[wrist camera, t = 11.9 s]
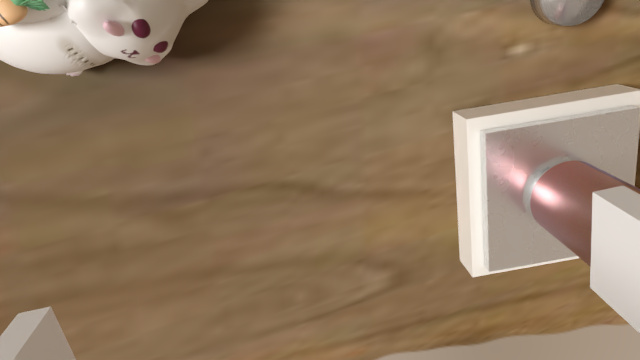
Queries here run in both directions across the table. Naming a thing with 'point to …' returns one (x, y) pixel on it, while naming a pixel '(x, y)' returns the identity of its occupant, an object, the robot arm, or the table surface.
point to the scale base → (507, 114)
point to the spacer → (565, 10)
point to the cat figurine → (88, 32)
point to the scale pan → (531, 162)
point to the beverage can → (571, 202)
